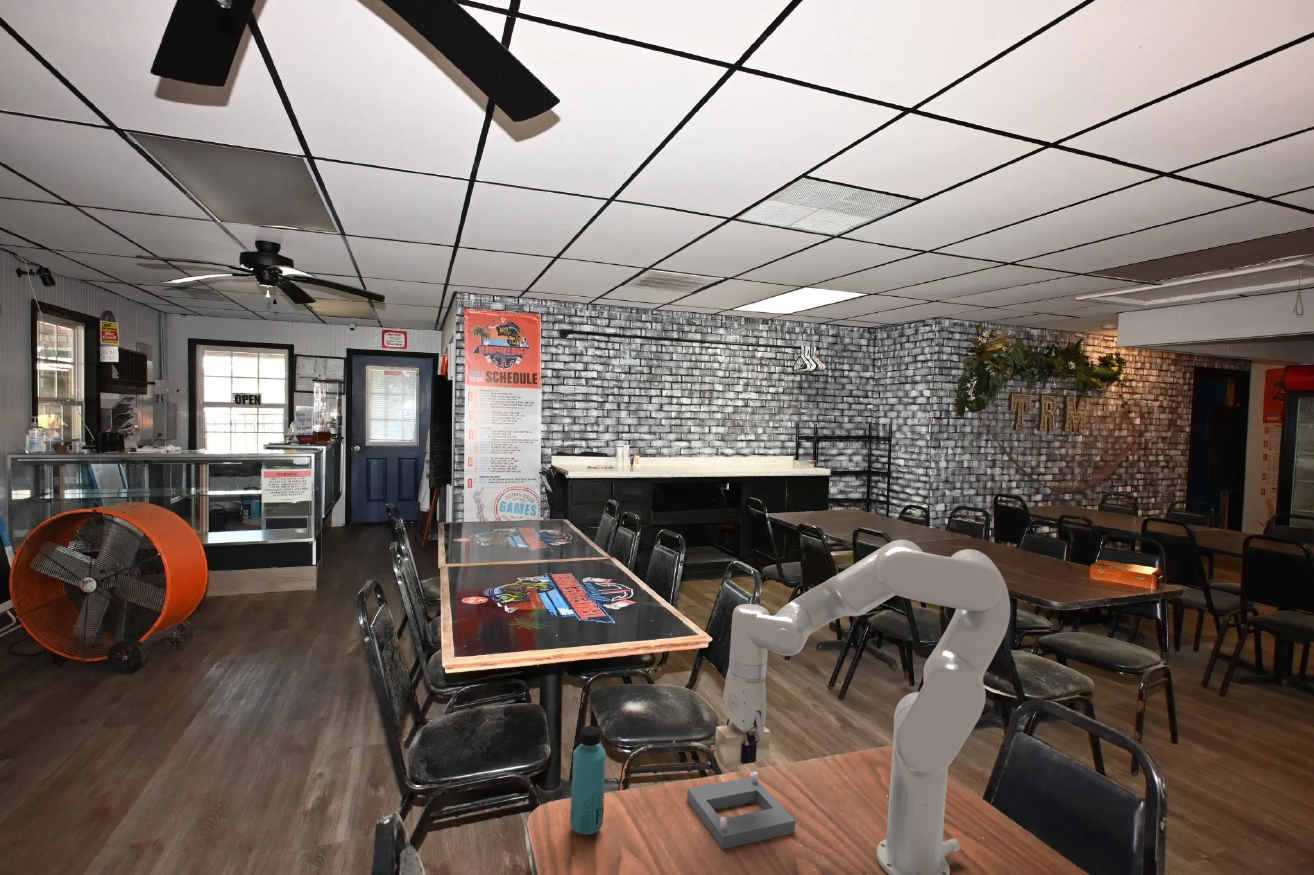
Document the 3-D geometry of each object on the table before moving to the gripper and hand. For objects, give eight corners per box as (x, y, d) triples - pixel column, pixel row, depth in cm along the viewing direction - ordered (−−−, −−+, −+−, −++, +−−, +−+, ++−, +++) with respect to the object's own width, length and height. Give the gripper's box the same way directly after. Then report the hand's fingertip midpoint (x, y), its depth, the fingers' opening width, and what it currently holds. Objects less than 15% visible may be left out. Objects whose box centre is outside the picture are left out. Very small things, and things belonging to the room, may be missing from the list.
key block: (714, 755, 131) (716, 726, 131) (756, 749, 135) (758, 721, 135) (724, 767, 127) (726, 737, 127) (768, 760, 131) (770, 731, 130)
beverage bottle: (597, 845, 120) (602, 740, 119) (563, 839, 121) (568, 735, 121) (607, 824, 126) (612, 724, 126) (574, 818, 128) (579, 719, 127)
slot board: (753, 787, 142) (754, 767, 141) (794, 833, 127) (795, 810, 127) (687, 800, 136) (688, 779, 136) (722, 849, 121) (723, 826, 121)
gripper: (712, 653, 137) (706, 737, 137) (752, 687, 121) (746, 781, 122) (743, 650, 139) (737, 733, 140) (786, 683, 124) (780, 775, 124)
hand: (741, 754), depth 131 cm, fingers closed on key block, 4 cm apart
